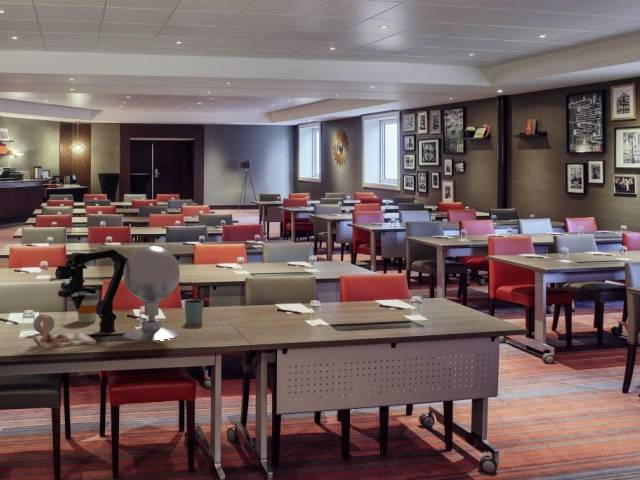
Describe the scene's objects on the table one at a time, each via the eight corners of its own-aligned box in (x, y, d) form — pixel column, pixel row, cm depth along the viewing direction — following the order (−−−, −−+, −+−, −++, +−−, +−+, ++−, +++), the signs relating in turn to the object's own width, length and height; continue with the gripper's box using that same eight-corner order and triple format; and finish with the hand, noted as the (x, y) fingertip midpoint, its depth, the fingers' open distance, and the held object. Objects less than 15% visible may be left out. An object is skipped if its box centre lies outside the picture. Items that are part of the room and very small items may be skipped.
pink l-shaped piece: (67, 338, 406) (67, 315, 405) (65, 340, 400) (65, 317, 399) (41, 338, 404) (41, 315, 403) (39, 341, 399) (39, 317, 397)
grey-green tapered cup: (205, 321, 463) (205, 299, 462) (200, 325, 453) (201, 303, 452) (187, 320, 464) (187, 299, 463) (182, 324, 454) (182, 302, 453)
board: (83, 334, 422) (83, 326, 422) (96, 343, 404) (96, 334, 403) (34, 338, 410) (34, 330, 410) (44, 348, 391) (44, 339, 391)
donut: (33, 334, 419) (33, 315, 418) (33, 333, 422) (33, 313, 421) (54, 333, 423) (54, 313, 422) (54, 332, 426) (53, 312, 425)
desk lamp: (124, 341, 408) (124, 249, 404) (122, 330, 435) (122, 243, 431) (182, 339, 416) (182, 248, 411) (176, 328, 442) (176, 243, 438)
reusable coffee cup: (95, 323, 450) (95, 295, 449) (72, 322, 451) (72, 295, 449) (102, 319, 463) (102, 292, 461) (79, 318, 463) (79, 291, 462)
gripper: (83, 274, 431) (83, 304, 432) (51, 278, 416) (51, 309, 418) (96, 276, 424) (96, 307, 425) (64, 280, 409) (65, 312, 411)
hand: (77, 309), depth 420 cm, fingers closed
